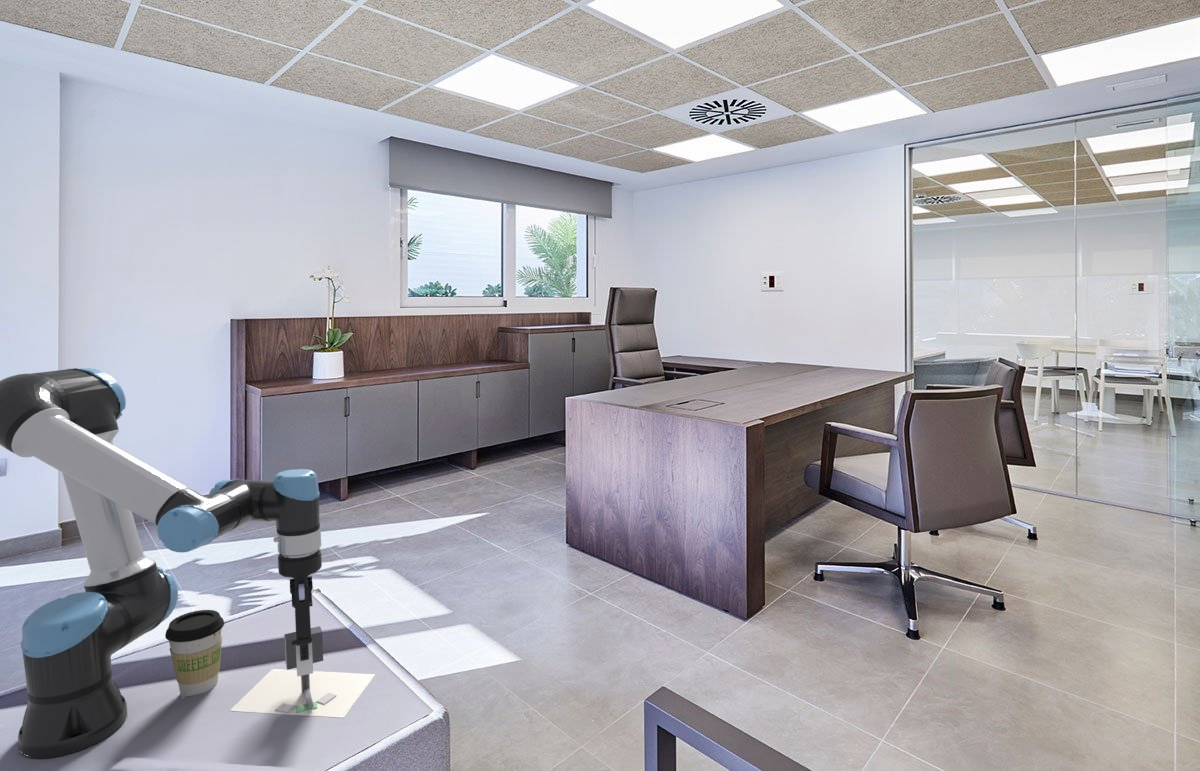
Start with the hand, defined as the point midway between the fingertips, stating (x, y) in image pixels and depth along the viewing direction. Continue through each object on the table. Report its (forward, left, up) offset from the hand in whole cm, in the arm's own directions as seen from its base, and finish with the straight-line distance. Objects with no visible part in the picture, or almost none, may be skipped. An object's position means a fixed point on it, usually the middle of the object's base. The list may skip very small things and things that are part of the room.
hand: (304, 656), depth 124 cm
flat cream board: (0, 0, -9) cm, 9 cm away
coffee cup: (-22, 0, -9) cm, 24 cm away
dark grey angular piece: (+2, -2, -7) cm, 8 cm away
